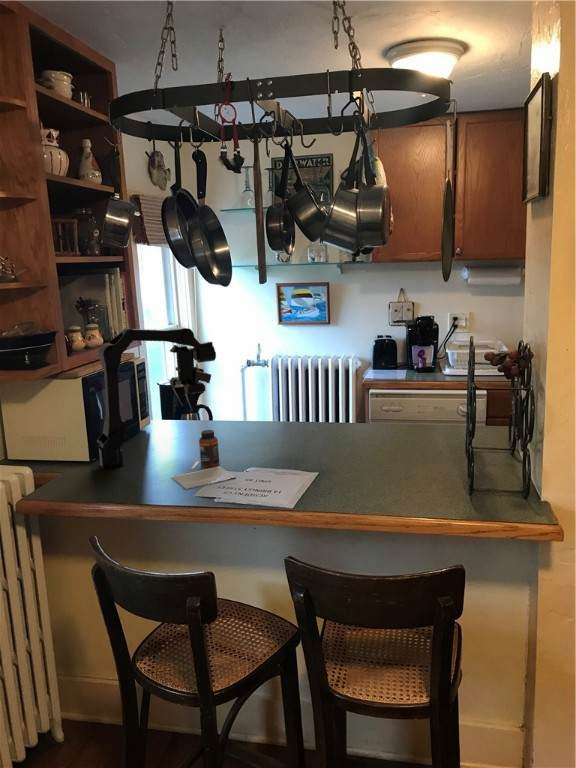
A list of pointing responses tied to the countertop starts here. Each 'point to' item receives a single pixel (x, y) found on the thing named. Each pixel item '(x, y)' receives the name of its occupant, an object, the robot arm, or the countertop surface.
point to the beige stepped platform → (199, 477)
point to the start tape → (194, 465)
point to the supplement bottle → (209, 449)
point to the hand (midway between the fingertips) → (189, 408)
